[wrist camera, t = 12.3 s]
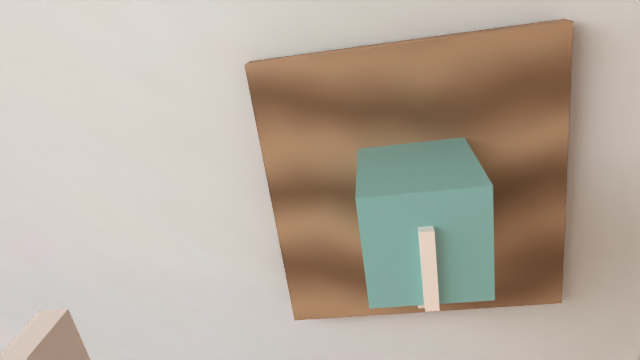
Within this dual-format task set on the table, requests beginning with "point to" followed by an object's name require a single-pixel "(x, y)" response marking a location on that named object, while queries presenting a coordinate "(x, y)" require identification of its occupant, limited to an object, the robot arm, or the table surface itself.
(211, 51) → the table surface
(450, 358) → the table surface
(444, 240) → the teal rectangular block
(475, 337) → the table surface
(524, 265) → the wooden peg board
